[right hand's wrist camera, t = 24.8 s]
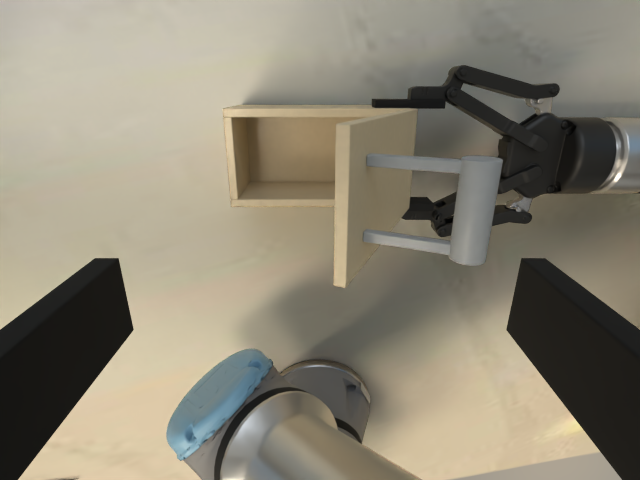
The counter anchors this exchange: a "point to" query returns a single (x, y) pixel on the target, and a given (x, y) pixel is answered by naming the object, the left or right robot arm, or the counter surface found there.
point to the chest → (286, 152)
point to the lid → (402, 194)
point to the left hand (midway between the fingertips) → (371, 156)
